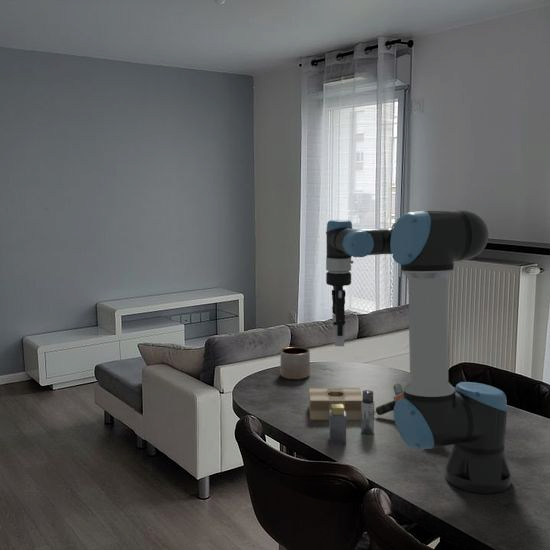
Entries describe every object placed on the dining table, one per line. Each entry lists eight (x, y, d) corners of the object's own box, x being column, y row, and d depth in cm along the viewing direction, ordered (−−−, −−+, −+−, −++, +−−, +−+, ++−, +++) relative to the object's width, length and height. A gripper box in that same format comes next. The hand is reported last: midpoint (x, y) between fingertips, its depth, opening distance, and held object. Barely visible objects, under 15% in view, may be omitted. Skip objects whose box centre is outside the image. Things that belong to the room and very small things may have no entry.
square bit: (346, 443, 177) (346, 408, 175) (330, 443, 177) (330, 408, 176) (344, 437, 181) (345, 403, 180) (329, 437, 181) (329, 403, 180)
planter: (278, 379, 234) (278, 353, 232) (282, 370, 244) (282, 346, 243) (308, 380, 232) (308, 355, 230) (311, 372, 242) (311, 347, 241)
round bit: (374, 434, 183) (375, 394, 181) (361, 434, 183) (362, 393, 181) (372, 429, 187) (373, 389, 185) (360, 429, 187) (360, 389, 185)
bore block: (363, 419, 194) (363, 400, 193) (310, 419, 195) (310, 400, 194) (359, 405, 206) (359, 387, 205) (309, 405, 206) (309, 387, 206)
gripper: (355, 278, 182) (354, 351, 185) (347, 265, 206) (347, 330, 209) (328, 278, 182) (327, 351, 185) (324, 265, 206) (323, 330, 210)
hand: (338, 340), depth 197 cm, fingers open, 13 cm apart
